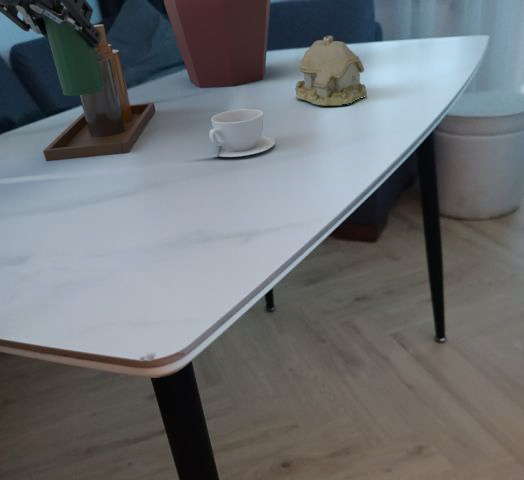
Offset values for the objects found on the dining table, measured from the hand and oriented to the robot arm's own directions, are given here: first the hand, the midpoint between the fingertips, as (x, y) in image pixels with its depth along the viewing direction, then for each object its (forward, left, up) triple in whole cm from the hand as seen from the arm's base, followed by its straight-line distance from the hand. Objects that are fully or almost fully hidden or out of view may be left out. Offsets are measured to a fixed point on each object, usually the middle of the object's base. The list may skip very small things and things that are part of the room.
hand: (79, 42), depth 87 cm
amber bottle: (-1, +13, -14) cm, 19 cm away
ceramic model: (+37, +17, -15) cm, 44 cm away
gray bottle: (-1, +6, -14) cm, 15 cm away
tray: (-1, +5, -15) cm, 16 cm away
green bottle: (-1, -2, -6) cm, 7 cm away
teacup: (+22, -9, -15) cm, 29 cm away
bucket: (+17, +45, -15) cm, 50 cm away
